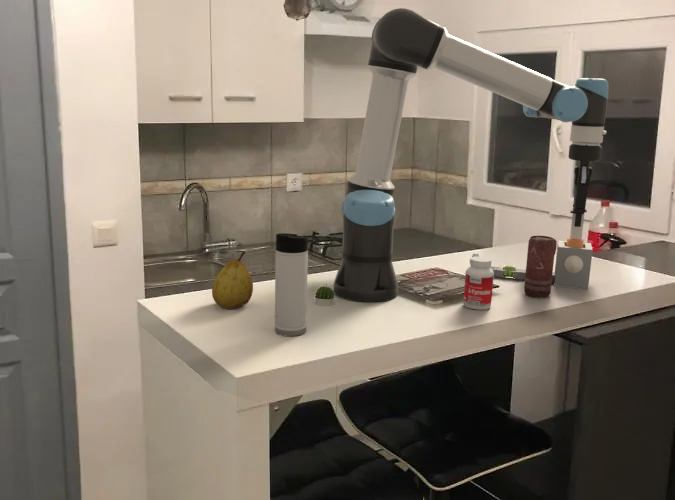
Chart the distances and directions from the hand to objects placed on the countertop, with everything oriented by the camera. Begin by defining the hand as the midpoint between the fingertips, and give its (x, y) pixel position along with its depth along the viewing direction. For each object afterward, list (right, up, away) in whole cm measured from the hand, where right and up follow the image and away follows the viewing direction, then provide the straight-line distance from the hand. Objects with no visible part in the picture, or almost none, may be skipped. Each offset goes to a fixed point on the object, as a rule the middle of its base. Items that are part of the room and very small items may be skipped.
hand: (575, 238), depth 182 cm
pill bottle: (-28, -16, -18) cm, 37 cm away
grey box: (0, -11, +3) cm, 12 cm away
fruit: (-82, -15, -23) cm, 87 cm away
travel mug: (-69, -19, -38) cm, 81 cm away
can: (-12, -14, -8) cm, 20 cm away
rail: (-14, -10, +6) cm, 18 cm away
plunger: (0, -7, +2) cm, 7 cm away
